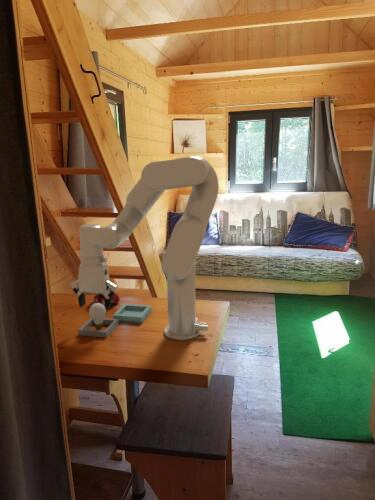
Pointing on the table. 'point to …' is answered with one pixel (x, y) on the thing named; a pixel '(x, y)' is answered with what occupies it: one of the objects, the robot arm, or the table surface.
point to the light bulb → (97, 314)
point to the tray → (132, 313)
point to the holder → (98, 333)
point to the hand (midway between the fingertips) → (95, 307)
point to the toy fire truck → (101, 298)
